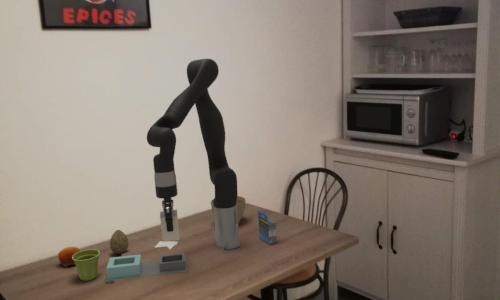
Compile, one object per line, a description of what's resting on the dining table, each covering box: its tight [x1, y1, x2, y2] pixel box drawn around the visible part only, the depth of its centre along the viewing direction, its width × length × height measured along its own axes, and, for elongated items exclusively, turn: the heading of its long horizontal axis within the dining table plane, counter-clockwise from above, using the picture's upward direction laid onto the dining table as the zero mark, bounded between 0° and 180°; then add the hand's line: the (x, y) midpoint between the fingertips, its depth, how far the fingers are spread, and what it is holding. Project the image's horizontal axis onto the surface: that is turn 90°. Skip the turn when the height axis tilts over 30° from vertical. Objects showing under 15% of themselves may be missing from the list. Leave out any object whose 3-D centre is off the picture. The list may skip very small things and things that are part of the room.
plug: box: [159, 209, 181, 242], centre depth 166 cm, size 6×4×10 cm, turn 100°
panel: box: [105, 252, 188, 285], centre depth 167 cm, size 28×12×5 cm, turn 99°
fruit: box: [57, 246, 81, 268], centre depth 177 cm, size 8×8×8 cm
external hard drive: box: [154, 240, 179, 250], centre depth 187 cm, size 2×8×12 cm
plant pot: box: [72, 248, 101, 282], centre depth 164 cm, size 9×9×9 cm
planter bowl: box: [210, 195, 246, 224], centre depth 213 cm, size 16×16×11 cm
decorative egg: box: [109, 229, 130, 255], centre depth 184 cm, size 7×7×10 cm
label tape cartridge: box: [257, 210, 277, 245], centre depth 190 cm, size 9×4×12 cm, turn 26°
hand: (170, 228), depth 166 cm, fingers closed on plug, 4 cm apart
